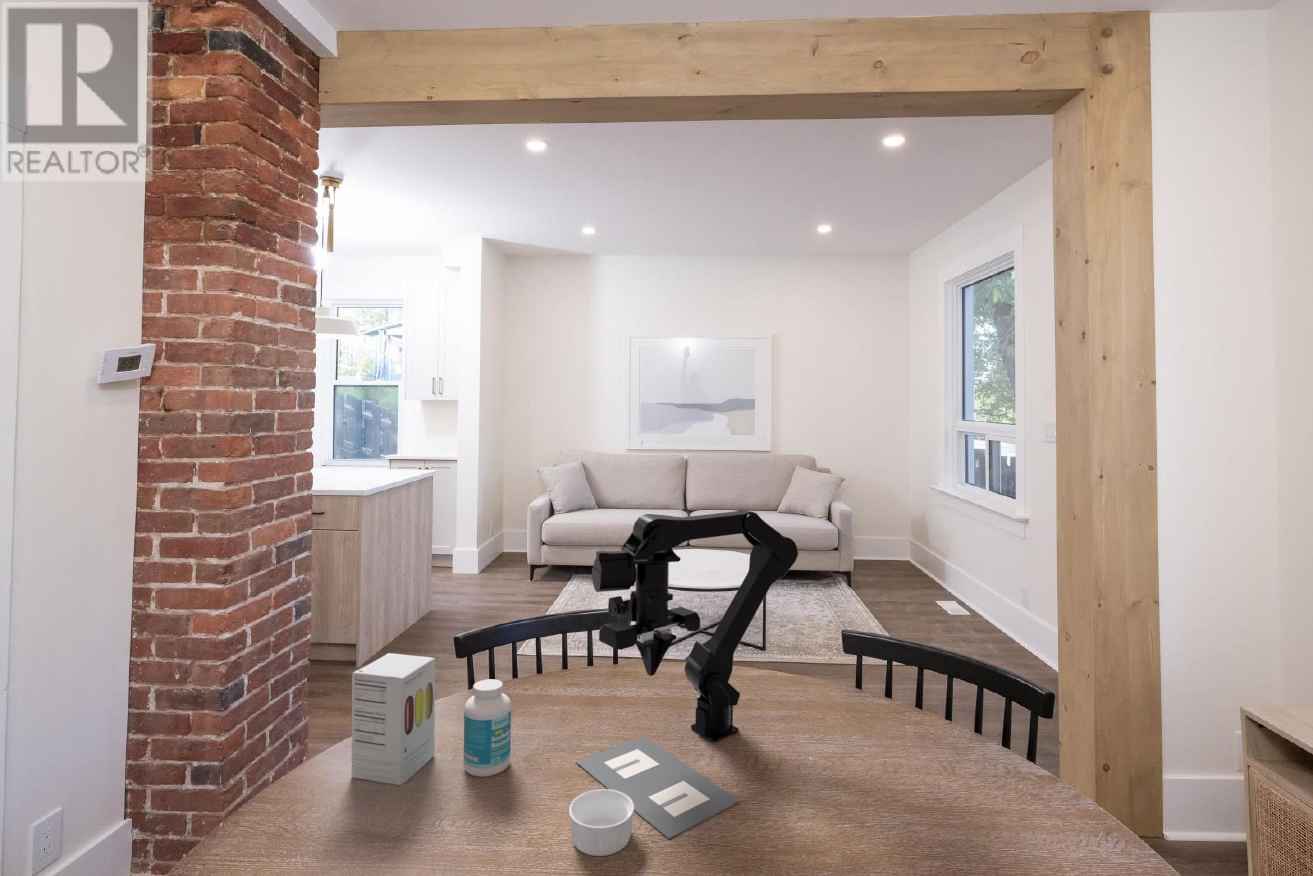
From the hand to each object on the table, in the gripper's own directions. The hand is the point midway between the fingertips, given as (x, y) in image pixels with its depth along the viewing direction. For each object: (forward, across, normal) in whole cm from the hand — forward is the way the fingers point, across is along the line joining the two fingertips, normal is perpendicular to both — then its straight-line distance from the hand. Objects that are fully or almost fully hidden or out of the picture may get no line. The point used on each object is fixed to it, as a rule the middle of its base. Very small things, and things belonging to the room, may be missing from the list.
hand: (650, 675), depth 111 cm
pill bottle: (+12, +26, -10) cm, 30 cm away
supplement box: (+12, +38, -19) cm, 44 cm away
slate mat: (+12, +7, +10) cm, 17 cm away
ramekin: (+12, +21, +16) cm, 29 cm away
